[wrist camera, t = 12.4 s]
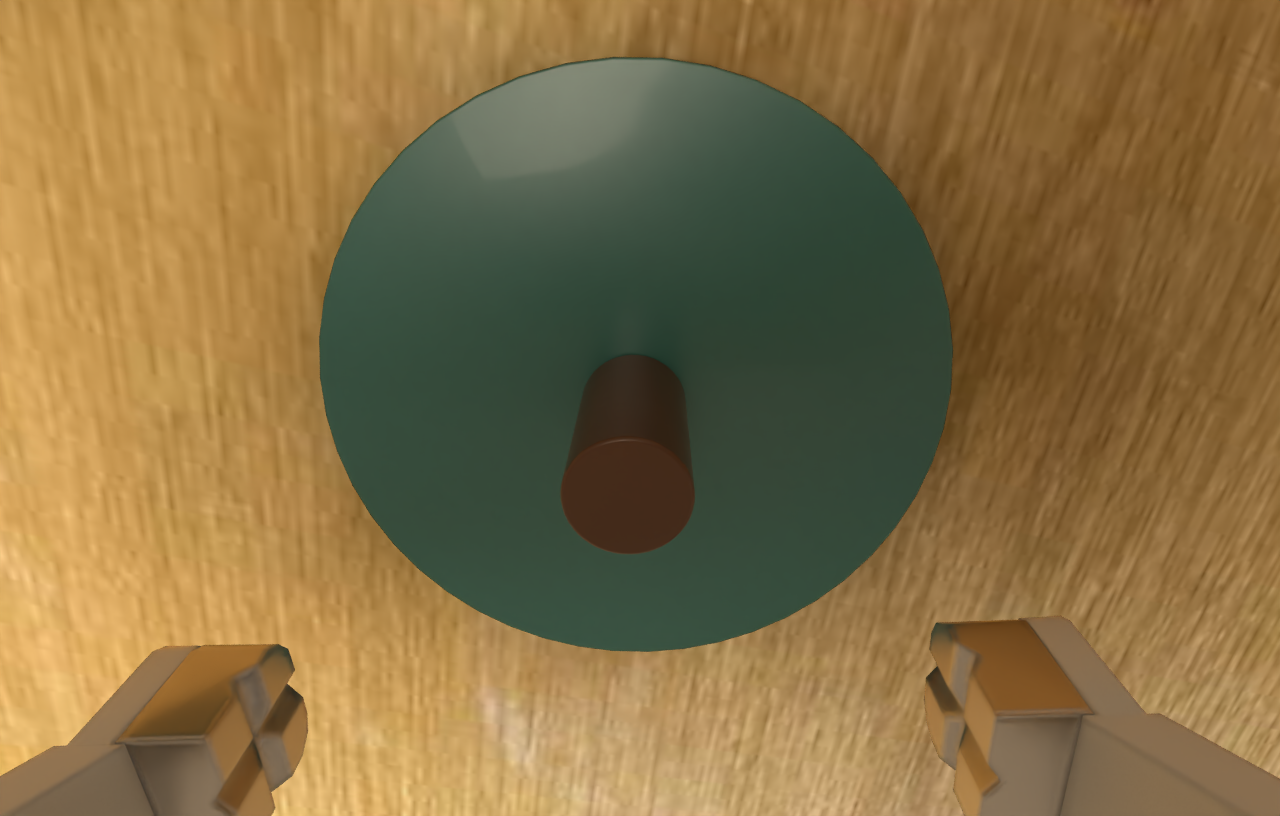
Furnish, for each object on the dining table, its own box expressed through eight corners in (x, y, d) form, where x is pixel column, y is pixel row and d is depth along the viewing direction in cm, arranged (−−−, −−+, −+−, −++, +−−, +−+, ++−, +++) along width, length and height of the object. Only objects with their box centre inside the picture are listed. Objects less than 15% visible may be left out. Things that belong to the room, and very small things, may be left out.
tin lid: (273, 78, 16) (89, 70, 11) (970, 39, 15) (1132, 11, 10) (394, 633, 21) (312, 803, 16) (908, 618, 21) (992, 789, 16)
